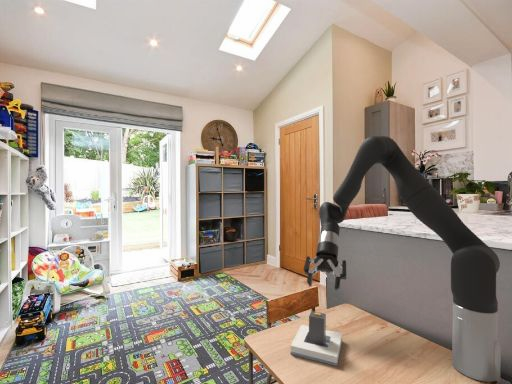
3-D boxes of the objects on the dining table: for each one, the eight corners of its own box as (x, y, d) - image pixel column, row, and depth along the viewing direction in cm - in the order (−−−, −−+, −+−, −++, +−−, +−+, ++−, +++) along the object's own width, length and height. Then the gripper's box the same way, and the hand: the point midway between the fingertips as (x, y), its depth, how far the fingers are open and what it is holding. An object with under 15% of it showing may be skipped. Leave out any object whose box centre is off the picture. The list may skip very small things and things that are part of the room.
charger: (325, 343, 82) (325, 312, 82) (323, 349, 78) (324, 317, 78) (311, 339, 83) (311, 309, 83) (308, 346, 80) (309, 314, 80)
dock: (342, 341, 84) (342, 333, 84) (337, 366, 72) (337, 356, 72) (301, 332, 89) (301, 324, 89) (290, 354, 77) (290, 345, 77)
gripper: (307, 238, 100) (299, 278, 89) (347, 242, 94) (344, 285, 84) (310, 250, 105) (303, 289, 94) (348, 253, 99) (345, 295, 88)
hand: (322, 287), depth 89 cm, fingers open, 8 cm apart
